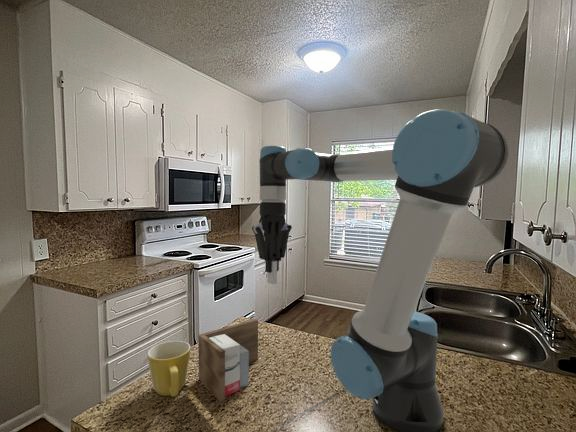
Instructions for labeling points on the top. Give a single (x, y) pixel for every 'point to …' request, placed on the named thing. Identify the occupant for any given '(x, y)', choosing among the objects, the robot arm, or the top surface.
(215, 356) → the wooden corner frame
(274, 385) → the top surface
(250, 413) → the top surface
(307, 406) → the top surface
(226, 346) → the ink box
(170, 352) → the mug
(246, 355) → the bookend
